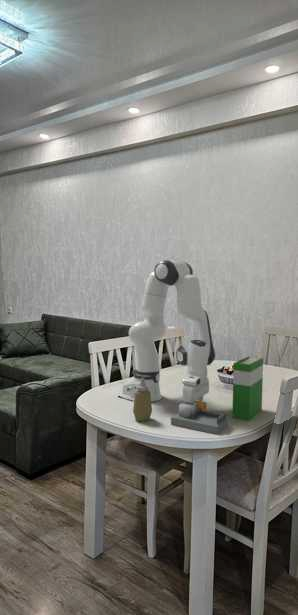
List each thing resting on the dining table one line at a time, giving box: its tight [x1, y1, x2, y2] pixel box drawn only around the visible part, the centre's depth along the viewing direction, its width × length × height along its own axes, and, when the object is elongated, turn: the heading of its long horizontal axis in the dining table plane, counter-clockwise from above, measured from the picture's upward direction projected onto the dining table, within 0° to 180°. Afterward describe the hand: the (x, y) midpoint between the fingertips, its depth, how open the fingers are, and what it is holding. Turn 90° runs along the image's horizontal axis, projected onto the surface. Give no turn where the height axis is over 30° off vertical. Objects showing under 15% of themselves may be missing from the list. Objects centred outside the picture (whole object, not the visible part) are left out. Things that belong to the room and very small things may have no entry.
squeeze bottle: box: [132, 378, 153, 422], centre depth 171 cm, size 8×8×18 cm
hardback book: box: [231, 356, 264, 422], centre depth 179 cm, size 18×7×24 cm, turn 147°
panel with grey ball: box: [170, 402, 229, 435], centre depth 165 cm, size 20×12×7 cm, turn 60°
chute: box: [195, 400, 208, 412], centre depth 179 cm, size 8×5×4 cm, turn 58°
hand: (196, 407), depth 179 cm, fingers closed on chute, 5 cm apart
